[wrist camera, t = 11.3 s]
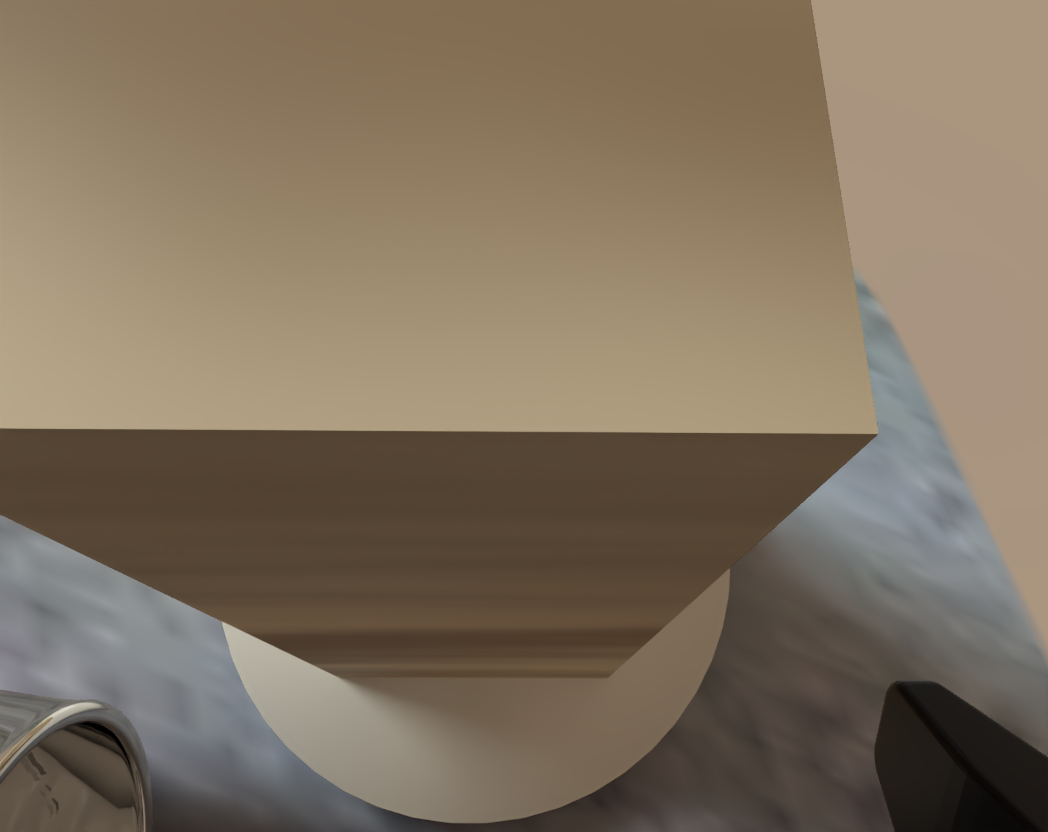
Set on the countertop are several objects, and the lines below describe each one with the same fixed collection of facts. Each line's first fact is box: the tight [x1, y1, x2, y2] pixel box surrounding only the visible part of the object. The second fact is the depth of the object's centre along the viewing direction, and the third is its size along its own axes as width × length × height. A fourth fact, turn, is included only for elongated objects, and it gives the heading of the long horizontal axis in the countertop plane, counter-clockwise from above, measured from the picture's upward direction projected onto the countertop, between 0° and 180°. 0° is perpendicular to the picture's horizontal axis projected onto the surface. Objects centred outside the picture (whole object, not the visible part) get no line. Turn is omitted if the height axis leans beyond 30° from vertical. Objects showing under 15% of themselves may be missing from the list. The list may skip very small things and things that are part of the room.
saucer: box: [222, 568, 730, 823], centre depth 18 cm, size 10×10×1 cm
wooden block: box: [0, 0, 878, 678], centre depth 11 cm, size 5×5×13 cm
